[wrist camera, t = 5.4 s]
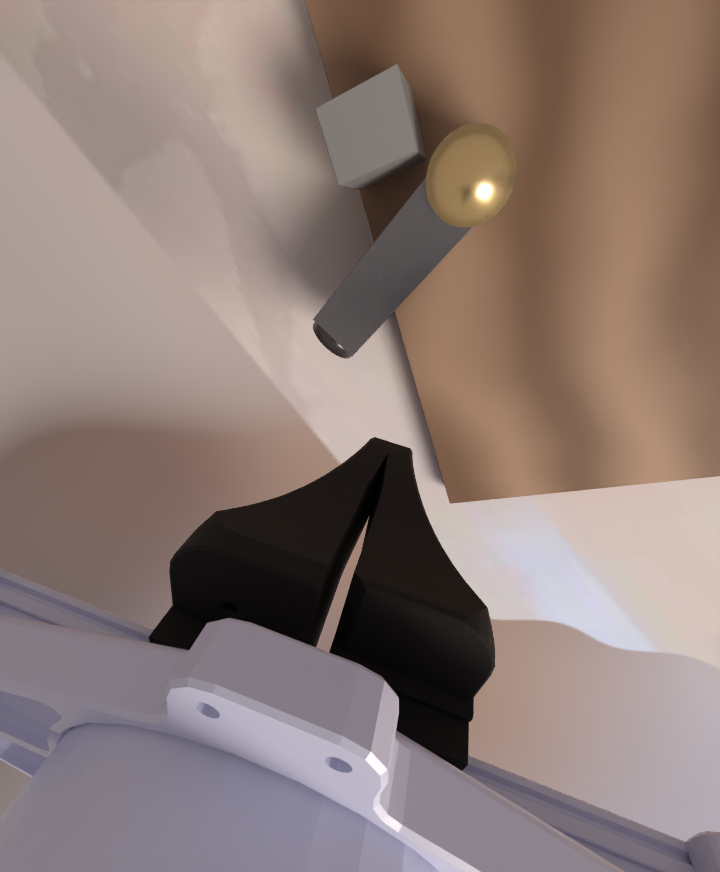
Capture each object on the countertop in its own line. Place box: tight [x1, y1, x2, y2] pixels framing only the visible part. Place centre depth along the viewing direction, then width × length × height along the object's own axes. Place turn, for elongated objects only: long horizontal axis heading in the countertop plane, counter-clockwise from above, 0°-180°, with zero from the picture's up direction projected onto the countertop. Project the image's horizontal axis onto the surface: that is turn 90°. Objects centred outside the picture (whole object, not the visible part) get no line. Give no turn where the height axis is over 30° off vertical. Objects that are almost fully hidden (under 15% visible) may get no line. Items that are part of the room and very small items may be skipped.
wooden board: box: [305, 0, 720, 503], centre depth 17 cm, size 14×24×2 cm, turn 19°
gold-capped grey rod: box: [313, 123, 517, 358], centre depth 16 cm, size 10×3×3 cm, turn 139°
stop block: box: [316, 64, 427, 189], centre depth 15 cm, size 3×2×3 cm
